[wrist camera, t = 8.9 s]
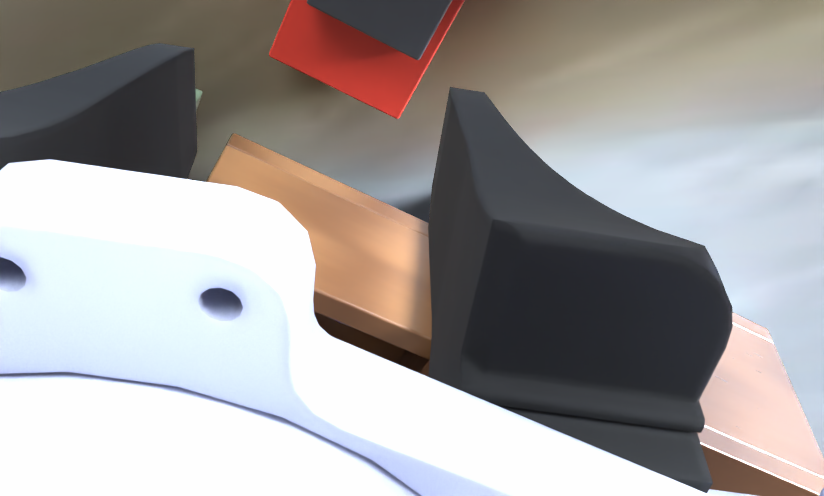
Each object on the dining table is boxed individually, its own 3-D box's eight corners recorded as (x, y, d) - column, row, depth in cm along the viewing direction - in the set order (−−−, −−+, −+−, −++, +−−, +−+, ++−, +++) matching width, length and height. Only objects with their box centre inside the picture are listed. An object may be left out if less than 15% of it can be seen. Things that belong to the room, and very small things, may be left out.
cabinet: (326, 393, 33) (289, 559, 27) (464, 182, 27) (458, 339, 20) (584, 495, 36) (605, 667, 30) (768, 328, 29) (845, 506, 23)
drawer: (-40, 255, 29) (-144, 370, 24) (7, -1, 23) (-119, 85, 18) (369, 416, 33) (349, 545, 28) (503, 232, 27) (507, 356, 22)
